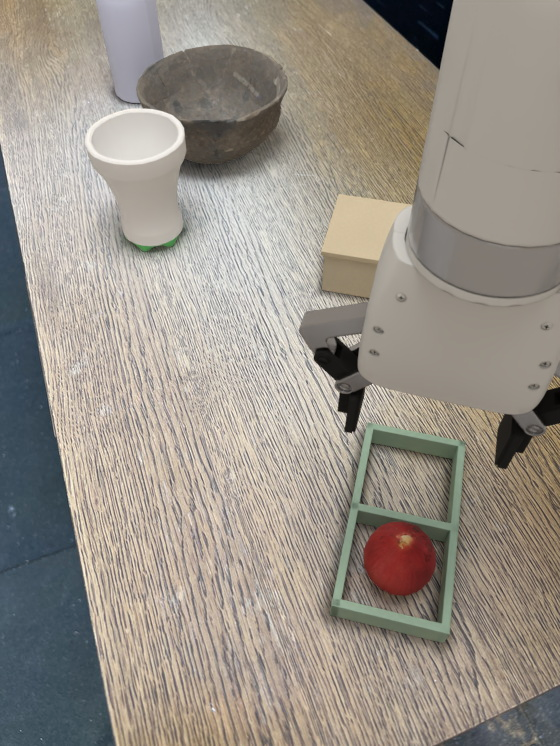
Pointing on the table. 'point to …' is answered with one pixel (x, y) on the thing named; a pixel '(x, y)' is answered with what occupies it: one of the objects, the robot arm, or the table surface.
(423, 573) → the red pomegranate
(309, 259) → the table surface
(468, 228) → the robot arm
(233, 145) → the bowl
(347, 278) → the beige rectangular box
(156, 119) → the cup
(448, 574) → the green rectangular frame
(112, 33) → the soap bottle
